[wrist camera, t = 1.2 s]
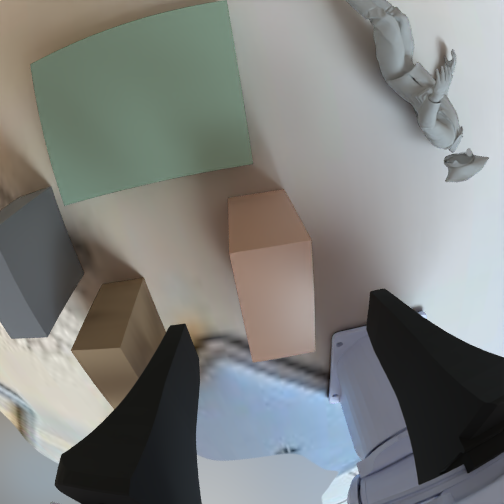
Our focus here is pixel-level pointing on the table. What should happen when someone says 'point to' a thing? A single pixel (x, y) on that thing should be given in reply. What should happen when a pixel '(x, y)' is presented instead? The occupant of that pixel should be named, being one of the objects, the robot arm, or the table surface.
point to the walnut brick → (119, 337)
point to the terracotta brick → (272, 274)
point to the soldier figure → (419, 85)
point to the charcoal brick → (35, 265)
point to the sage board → (143, 103)
